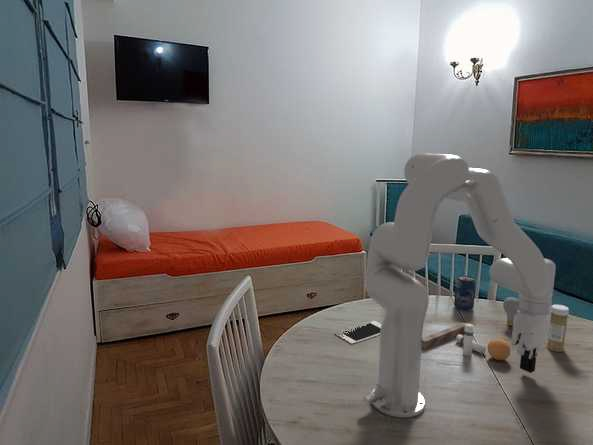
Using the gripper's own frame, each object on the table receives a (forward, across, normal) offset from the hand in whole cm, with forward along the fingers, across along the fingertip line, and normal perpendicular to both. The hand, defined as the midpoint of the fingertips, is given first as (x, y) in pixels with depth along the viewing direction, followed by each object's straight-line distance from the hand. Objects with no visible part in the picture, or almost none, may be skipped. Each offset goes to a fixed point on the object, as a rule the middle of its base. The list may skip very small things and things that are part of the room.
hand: (527, 369), depth 116 cm
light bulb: (+2, -27, -20) cm, 34 cm away
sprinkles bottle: (+2, -22, -3) cm, 22 cm away
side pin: (+2, +3, -16) cm, 16 cm away
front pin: (0, -1, -14) cm, 14 cm away
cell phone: (+2, +18, -44) cm, 48 cm away
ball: (-2, -2, -9) cm, 10 cm away
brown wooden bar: (+2, 0, -26) cm, 26 cm away
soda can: (+2, -27, -38) cm, 47 cm away
